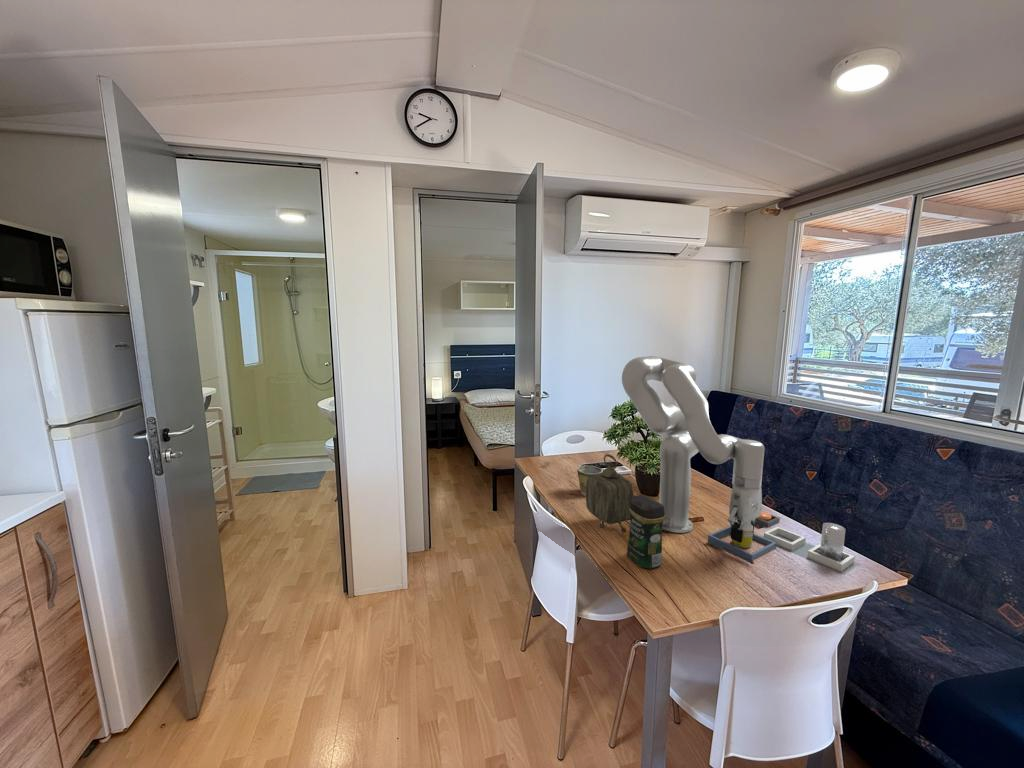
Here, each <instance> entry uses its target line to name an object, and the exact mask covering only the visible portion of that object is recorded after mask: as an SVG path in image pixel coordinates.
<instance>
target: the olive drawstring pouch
mask: <svg viewBox="0 0 1024 768" xmlns="http://www.w3.org/2000/svg"><path fill="white" fill-rule="evenodd" d="M607 457H609V458H611V459H612V460H613V461H614V463H615V466H612V463H611V462H610V463H607V462H606V458H607ZM603 462H604V464H605V465H606V468H605V469H604V468H603V469H604V470H602V473H597V474H591V475H590V476H589V477H588V479H587V487H586V496H585V502H586V503H585V505H586V510H587V511H588V512H589V513H590V514H591V515H592V516H593V517H595V518H596V519H598V520H599V521H601V523H600V524H599V528H600V529H602V530H603V529H604V528H605V524H604V523H606V524H609V525H614V524H617V525H619V527H620V528H621V529H620V531H621V533H623V534H625V533H626V532H627V529H626V528H625V527H623V525H622V523H623V522H628V521H630V511H629V506H630V500H631V498H632V497H633V496H634V488H633V483H632V482H631V481H630V479H627V478H626V477H625V476H623V475H621V474H620V473H618V472H617V470H616V468H617V466H618V461H617V459H616V458H615V457H614V456H613V455H611V454H605V455H604V456H603Z"/></svg>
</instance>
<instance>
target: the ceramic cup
mask: <svg viewBox="0 0 1024 768" xmlns="http://www.w3.org/2000/svg"><path fill="white" fill-rule="evenodd" d="M603 470H604V468H602V467H599V466H595V465H580V466H578V467H577V469H576V471H577V477H578V483H579V488H580V489H579V490H580V494H581V495H582V496H584V497H586V487H587V479H588V477H589V476H590V475H591V474H597V473H602V472H603Z"/></svg>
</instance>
